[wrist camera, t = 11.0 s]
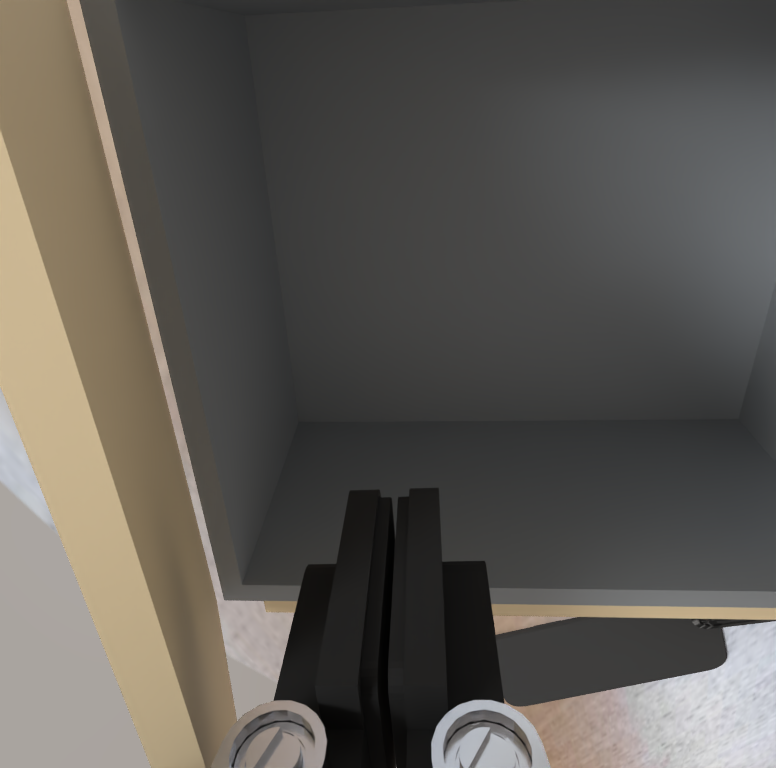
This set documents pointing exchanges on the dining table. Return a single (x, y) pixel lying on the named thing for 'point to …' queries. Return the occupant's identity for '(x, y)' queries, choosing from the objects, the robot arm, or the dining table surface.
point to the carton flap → (99, 398)
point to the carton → (467, 283)
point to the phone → (601, 655)
